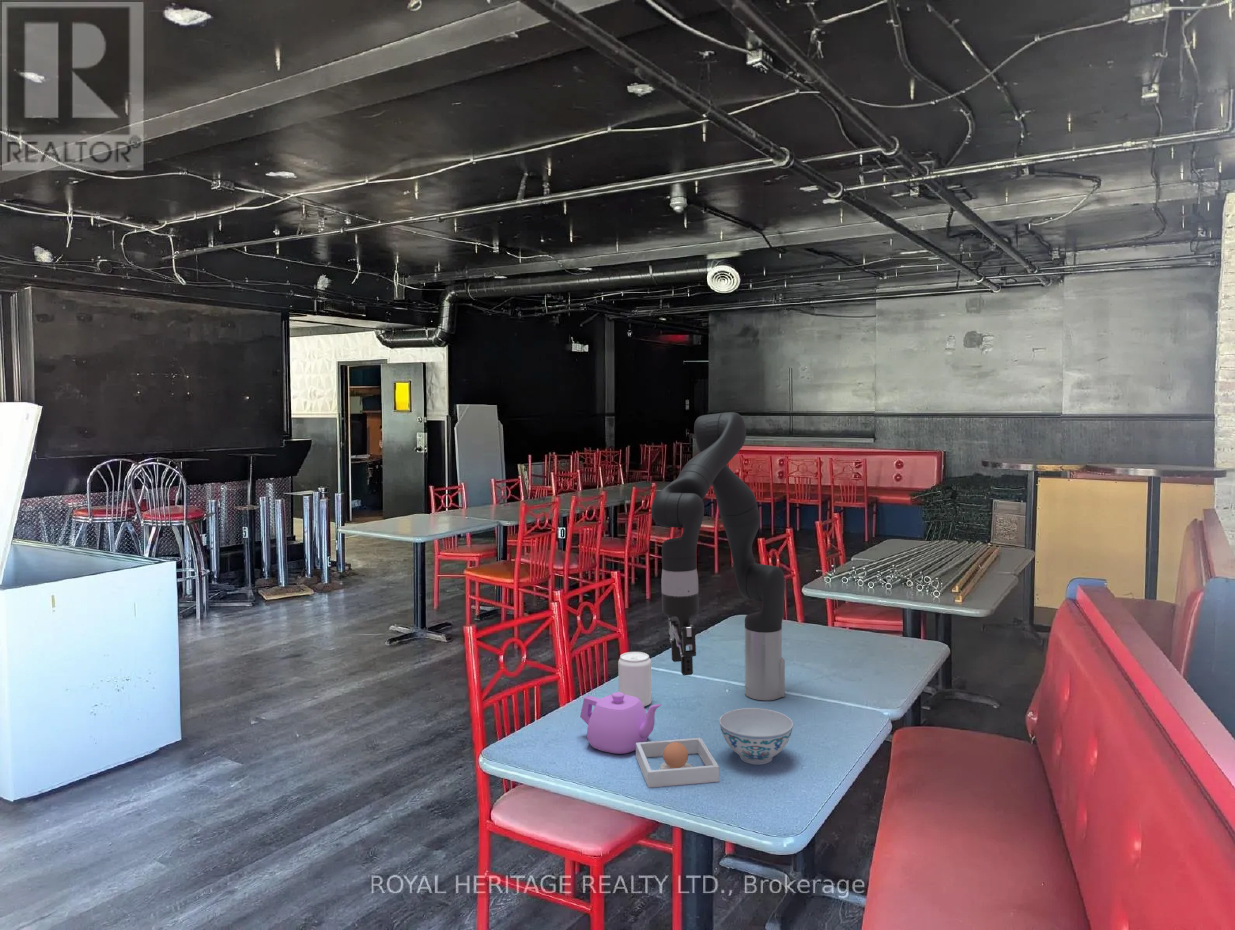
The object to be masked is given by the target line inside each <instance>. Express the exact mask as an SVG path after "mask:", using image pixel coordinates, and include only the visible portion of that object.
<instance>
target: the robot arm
mask: <svg viewBox="0 0 1235 930" xmlns="http://www.w3.org/2000/svg"><path fill="white" fill-rule="evenodd" d="M693 425H694V427H693V433H694V438H695V443H696V446H697V448H698V451H699V453H698V454H696V455H695V456H693V457H692V458H691V459H689V460H687V461H688V462H686V464H685V465H684V466H683V467H682V469H681V471H680V473H679V474H678V476H677V478H676V479H674V480H673V481H671V482H670V483H669V484H667V485H666V486H665V487H664V488H662V489H661V490H660V491H659V492H658V493H657V494H656V496H655V497H654V499H653V501H652V504H651V509H650V511H651V513H650V514H651V517H652V519H653V521H654V522H655V524H657V526H660V527H663V528H677V529H679V528H680V529H683V530H682V531H683V532H682V534H681V536H679V537H673V538H669V539H666V540H664V541H663V543H662V545H661V568H662V570H661V585H660V586H661V610H662V613H663V614H664V615H665V616H667V637H668V638H669V643H670V644H671V660H672V662H674V663H677V662H680V672H681V675H682V676H692V675H693V673H694V666H693V665H694V663H693V660H694V659H693V658H694V657H696V656H697V650H696V649H697V648H696V646H697V645H696V626H694V625H693V623H692V622H691V617H692V616H695V615H697V614H698V613H700V612H699V611H700V600H699V599H700V597H699V594H700V593H699V575H698V569H697V567H698V566H697V565H698V563H697V547H698V540H699V537H700V533H701V527H702V523H703V520H704V516H705V504H704V501H703V500H704V498H706V496H707V494H708V492H709V490H710V488H711V486H712V490H713V493H714V497H715V500H716V504H717V509H718V512H719V515H720V519H721V522H722V525H723V527H724V531H725V534H726V538H727V541H728V542H727V543H728V546H729V549H730V553H731V559H732V565H733V569H734V575H735V580H736V586H737V588H738V591H739V593H740V594H741V597H743V598H744V599H746V600H752V601H757V602H761V603H762V606H761V610H760V611H756V612H751V613H749V614H747V615H746V616H745V618H744V692H745V696H747V697H748V698H750V699H752V700H758V701H774V700H778V699H780V698H785V697H786V694H785V693H786V689H785V688H786V682H785V681H786V677H785V676H786V675H785V672H786V666H785V665H786V662H785V661H786V660H785V658H783V641H782V640H783V635H782V634H783V633H782V631H783V630H782V629H783V628H782V627H783V619H784V615H785V595H786V593H785V592H786V578H785V574H784V572H783V569H782V568H781V567H779V566H776V565H771V564H763V563H758V562H756V560H755V557H754V553H753V548H752V547H753V543H754V540H755V538H756V535H757V533H758V531H759V528H760V524H761V515H760V511H759V507H758V502H757V500H756V496H755V494H754V492H753V491H752V489H751V488H750V487H749V486H748V484H746V483H745V482H744V480H742V479H741V478H740V477H739V476H738V475H737V474H735V472H734V471H732V469H731V468H730V467H729V466H728V463H730V461H731V460H732V459H733V458H734V457H735V456H736V455H737V454H738V453H739V452H740V450H741V449H742V447H743V446H744V444H745V442H746V437H747V428H746V423H745V421H744V418H743V416H742V415H741V414H740V413H737V412H734V411H732V412H731V411H729V412H720V413H712V414H711V413H710V414H704V415H699V416H698V417H697V418H696V420H695V421H694V424H693ZM687 647H688V648H689V649H688V650H687Z"/></svg>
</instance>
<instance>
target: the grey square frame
mask: <svg viewBox="0 0 1235 930" xmlns="http://www.w3.org/2000/svg"><path fill="white" fill-rule="evenodd" d="M673 742H678V743H681V744H682V745H684V746H685V748H686V749H687V752H688V755H695V754H697V755H699V757H700V759H701V760H702V762H703V764H704V765H699V766H697V765H696V766H692V767H685V768H673V769H661V770H660V769H652V768H651V765H650V764H649V762H648V759H647V758H657V757H663V752H664V749H665V747H666V746H667V745H668V744H670V743H673ZM635 758H636V760H637V763H638V765H639V767H640V771H641V773H642V775H643V778H644V780H645V782H646V786H647V788H659V787H662V788H663V787H672V786H683V785H684V786H685V785H695V784H706V783H707V784H708V783H717V782H720V766H719V764H718V763H717V761H716V760H715V758H714V757H713V755H712V753H711V752H710V750H709V749H708V747H707V745H706V744H705V742H704V740H703V739H702V737H693V738H681V739H680V738H679V739H667V740H653V741H645V742H639V743H636V750H635Z"/></svg>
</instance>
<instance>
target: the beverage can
mask: <svg viewBox="0 0 1235 930" xmlns="http://www.w3.org/2000/svg"><path fill="white" fill-rule="evenodd" d="M617 662H618V663H617V665H618V667H617V668H618V670H617V672H618V692H621V693H624V694H625V695H629V696H633V697H637V698H638V699H640V701H641V703H642V704H643V706H644V708H645V707H647V706H648V705H650V704H652V660H651V658H650V655H649V654H647V652H646V653H645V652H641V651H628V652H624V653H621V654H620V656H619V659H618V661H617Z"/></svg>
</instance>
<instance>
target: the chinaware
mask: <svg viewBox="0 0 1235 930" xmlns="http://www.w3.org/2000/svg"><path fill="white" fill-rule="evenodd" d="M718 722H719V727H720V731H721V734H722V736H723V739H724V740H725V742H726V744H727V745H728V746H729V748H730V749H731V750H732V751H734V752H735V753H736V754H737V755H739V758H740V760H741V761H743V762H744V763H746V764H749V765H765V764H768V763H769V764H770V762H772V761H773V757H775V756H777V755H778V754H780V752H782V751H783V750H784V748H785V747H786V745H787V744H788V742H789V740H790V738H791V736H792V732H793V728H794V722H793V720H792V719H791V718H790V717H789V716H787V715H786V714H784V713H782V712H779V711H776V710H773V709H766V708H758V707H745V708H743V707H742V708H738V709H733V710H729V711H727V712H725V713H723V714H722V715H721V716H720V718H719V720H718Z"/></svg>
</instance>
